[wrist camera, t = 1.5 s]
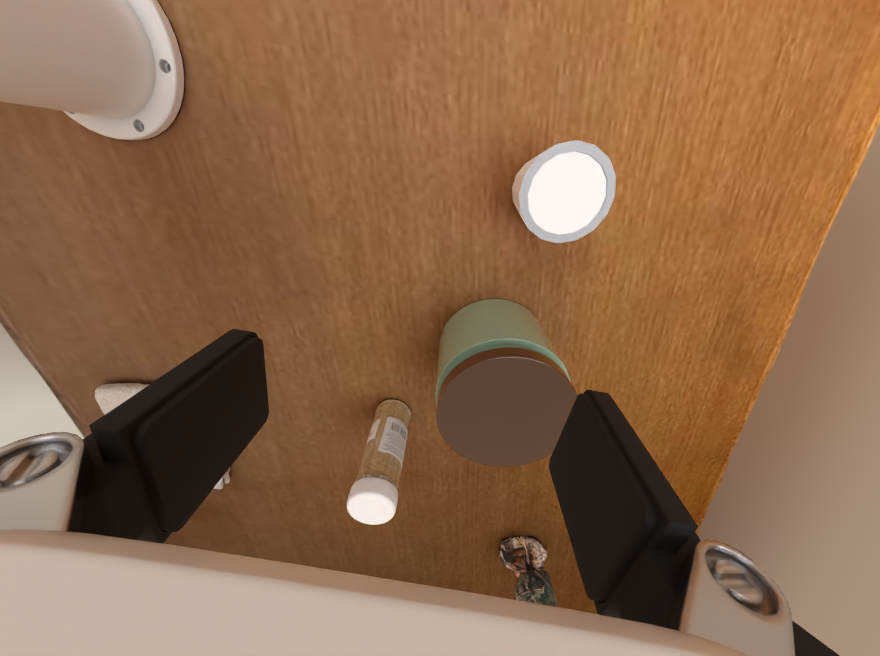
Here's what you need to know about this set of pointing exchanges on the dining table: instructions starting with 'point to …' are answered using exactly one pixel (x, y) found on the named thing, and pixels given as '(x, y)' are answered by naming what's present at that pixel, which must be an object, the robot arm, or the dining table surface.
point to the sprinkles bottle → (381, 465)
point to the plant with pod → (528, 570)
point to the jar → (500, 385)
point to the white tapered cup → (565, 191)
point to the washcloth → (119, 393)
